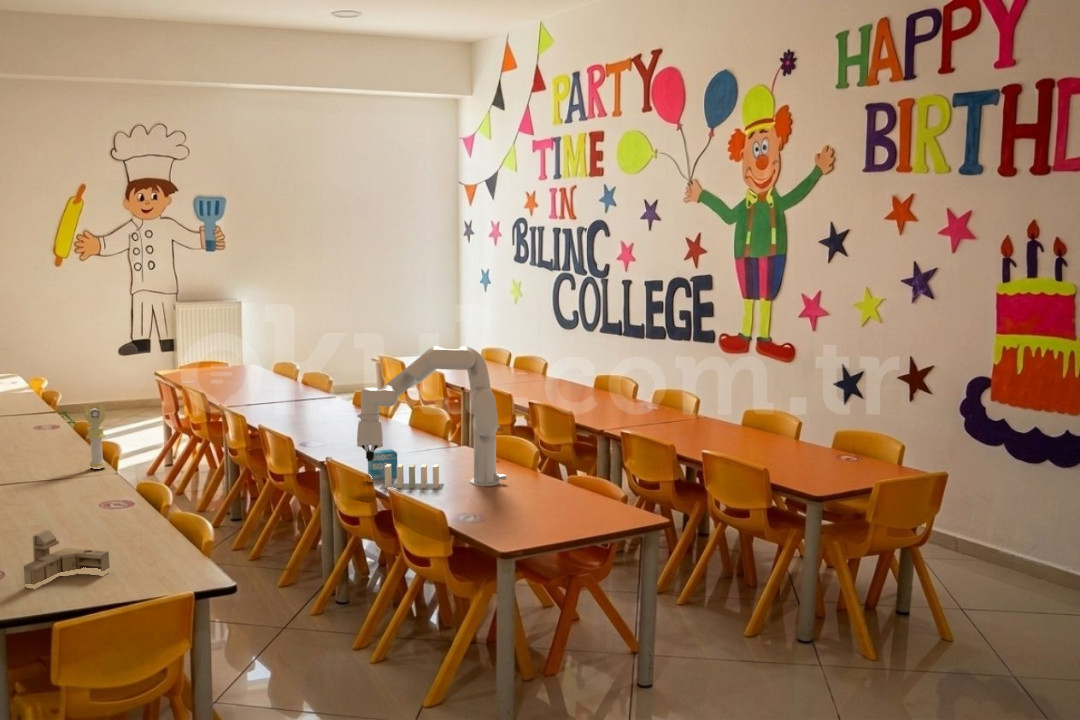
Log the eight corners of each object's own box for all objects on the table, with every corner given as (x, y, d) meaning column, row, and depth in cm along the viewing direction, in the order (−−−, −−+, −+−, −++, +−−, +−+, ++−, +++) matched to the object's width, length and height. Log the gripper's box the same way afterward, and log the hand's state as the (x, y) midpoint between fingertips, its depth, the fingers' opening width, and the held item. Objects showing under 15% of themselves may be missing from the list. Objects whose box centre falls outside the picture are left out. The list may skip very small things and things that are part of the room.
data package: (370, 480, 436) (370, 453, 434) (368, 478, 440) (367, 451, 438) (397, 477, 441) (397, 450, 439) (394, 475, 445) (394, 448, 443)
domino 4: (427, 485, 426) (426, 464, 425) (425, 488, 421) (425, 467, 420) (422, 485, 426) (422, 464, 425) (420, 488, 421) (420, 466, 420)
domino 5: (439, 485, 426) (438, 464, 425) (437, 488, 421) (437, 467, 420) (434, 485, 426) (434, 464, 425) (432, 488, 421) (432, 467, 420)
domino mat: (444, 484, 429) (444, 483, 429) (441, 490, 419) (441, 489, 419) (383, 484, 429) (383, 483, 429) (379, 490, 419) (379, 489, 419)
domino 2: (403, 484, 426) (403, 464, 425) (401, 487, 422) (401, 466, 420) (398, 484, 426) (398, 464, 425) (397, 487, 422) (396, 466, 420)
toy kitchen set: (70, 593, 301) (68, 544, 299) (22, 589, 305) (19, 540, 303) (110, 573, 319) (108, 527, 317) (64, 569, 323) (61, 523, 321)
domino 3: (415, 484, 426) (415, 464, 425) (413, 488, 421) (413, 466, 420) (410, 484, 426) (410, 464, 425) (409, 488, 421) (408, 466, 420)
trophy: (88, 471, 449) (85, 405, 445) (86, 468, 456) (83, 402, 452) (108, 469, 453) (105, 403, 449) (106, 466, 460) (103, 401, 456)
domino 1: (391, 484, 427) (391, 463, 425) (389, 487, 422) (389, 466, 420) (387, 484, 427) (386, 463, 425) (385, 487, 422) (384, 466, 420)
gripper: (350, 418, 417) (350, 462, 419) (386, 419, 416) (386, 463, 419) (353, 415, 424) (353, 458, 426) (389, 416, 424) (389, 459, 426)
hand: (370, 460), depth 423 cm, fingers closed
